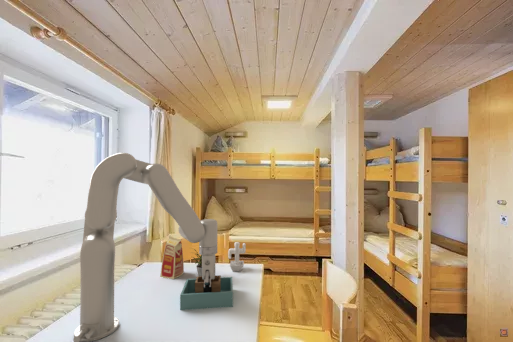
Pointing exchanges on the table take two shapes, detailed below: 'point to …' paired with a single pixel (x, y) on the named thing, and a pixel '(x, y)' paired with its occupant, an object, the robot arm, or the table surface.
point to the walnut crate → (214, 283)
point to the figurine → (236, 256)
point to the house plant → (199, 266)
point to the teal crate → (206, 296)
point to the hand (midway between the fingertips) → (208, 292)
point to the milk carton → (172, 259)
